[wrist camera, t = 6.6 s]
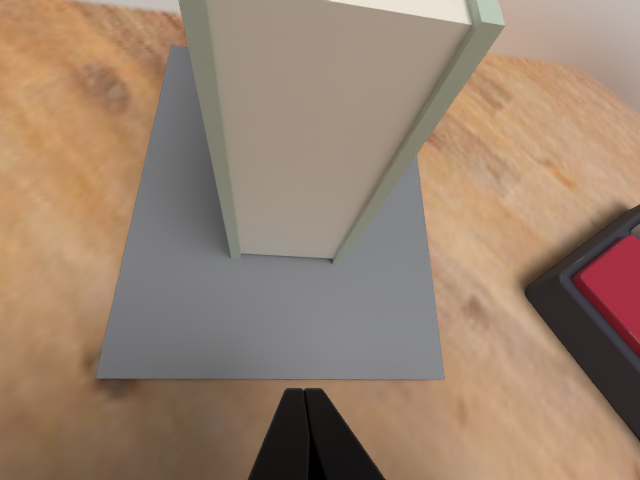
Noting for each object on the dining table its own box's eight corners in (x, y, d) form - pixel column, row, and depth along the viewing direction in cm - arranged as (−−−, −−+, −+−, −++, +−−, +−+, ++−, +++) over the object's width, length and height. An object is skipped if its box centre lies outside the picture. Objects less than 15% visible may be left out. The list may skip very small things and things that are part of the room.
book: (340, 264, 16) (504, 25, 6) (231, 258, 16) (172, -32, 5) (336, 86, 21) (425, -249, 10) (250, 75, 20) (241, -302, 9)
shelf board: (429, 380, 17) (445, 379, 15) (110, 379, 15) (95, 378, 13) (398, 95, 23) (407, 77, 22) (176, 67, 21) (171, 45, 20)
